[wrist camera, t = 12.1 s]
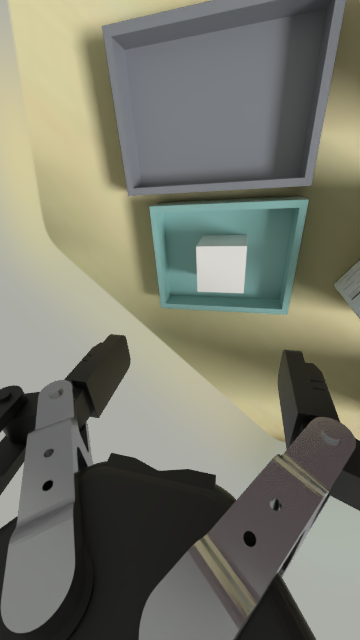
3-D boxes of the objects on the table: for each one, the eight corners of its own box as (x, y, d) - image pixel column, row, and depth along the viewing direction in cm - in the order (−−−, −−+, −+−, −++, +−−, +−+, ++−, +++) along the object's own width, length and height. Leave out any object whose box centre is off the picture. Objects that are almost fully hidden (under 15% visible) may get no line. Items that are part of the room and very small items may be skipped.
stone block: (246, 234, 25) (247, 246, 21) (243, 276, 27) (243, 293, 23) (203, 235, 26) (196, 246, 22) (203, 275, 28) (197, 291, 24)
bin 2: (302, 196, 23) (308, 199, 20) (283, 301, 28) (287, 314, 26) (158, 203, 26) (149, 206, 23) (167, 296, 31) (161, 307, 29)
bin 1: (336, -2, 16) (352, -33, 14) (304, 183, 22) (311, 185, 20) (119, 43, 20) (102, 26, 18) (139, 193, 26) (128, 195, 23)
